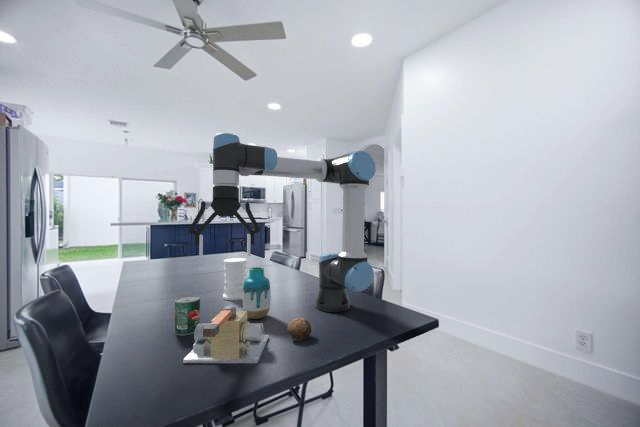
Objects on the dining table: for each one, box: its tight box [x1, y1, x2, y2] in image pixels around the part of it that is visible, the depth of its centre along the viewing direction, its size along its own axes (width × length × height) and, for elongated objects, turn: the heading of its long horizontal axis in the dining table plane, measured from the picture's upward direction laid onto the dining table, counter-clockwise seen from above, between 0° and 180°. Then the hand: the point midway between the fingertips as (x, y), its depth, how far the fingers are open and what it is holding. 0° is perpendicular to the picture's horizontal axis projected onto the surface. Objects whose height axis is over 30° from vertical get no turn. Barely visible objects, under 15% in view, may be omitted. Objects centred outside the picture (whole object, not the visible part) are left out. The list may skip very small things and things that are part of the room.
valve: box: [182, 310, 269, 364], centre depth 80 cm, size 20×15×10 cm
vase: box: [242, 266, 272, 320], centre depth 105 cm, size 11×11×19 cm
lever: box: [203, 305, 237, 337], centre depth 74 cm, size 17×4×2 cm, turn 0°
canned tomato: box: [174, 295, 201, 337], centre depth 94 cm, size 8×8×11 cm
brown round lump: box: [286, 317, 312, 342], centre depth 89 cm, size 8×8×6 cm
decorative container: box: [222, 257, 248, 301], centre depth 133 cm, size 12×12×18 cm
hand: (225, 256), depth 82 cm, fingers open, 13 cm apart
